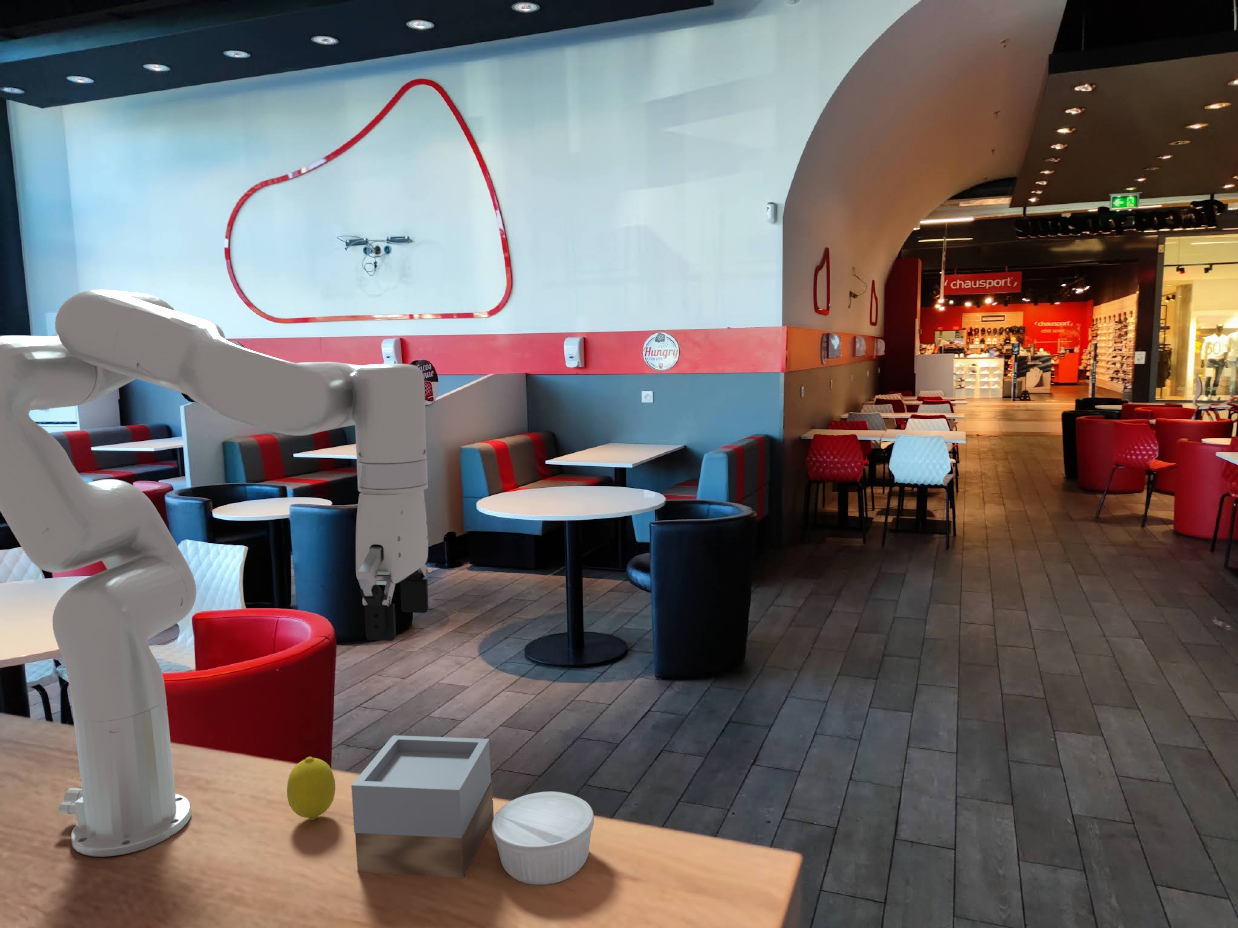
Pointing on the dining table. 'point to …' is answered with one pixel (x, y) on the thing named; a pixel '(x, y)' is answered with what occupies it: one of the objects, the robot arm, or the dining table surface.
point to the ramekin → (543, 836)
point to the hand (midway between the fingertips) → (398, 624)
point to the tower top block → (422, 786)
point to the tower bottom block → (425, 848)
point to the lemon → (311, 788)
